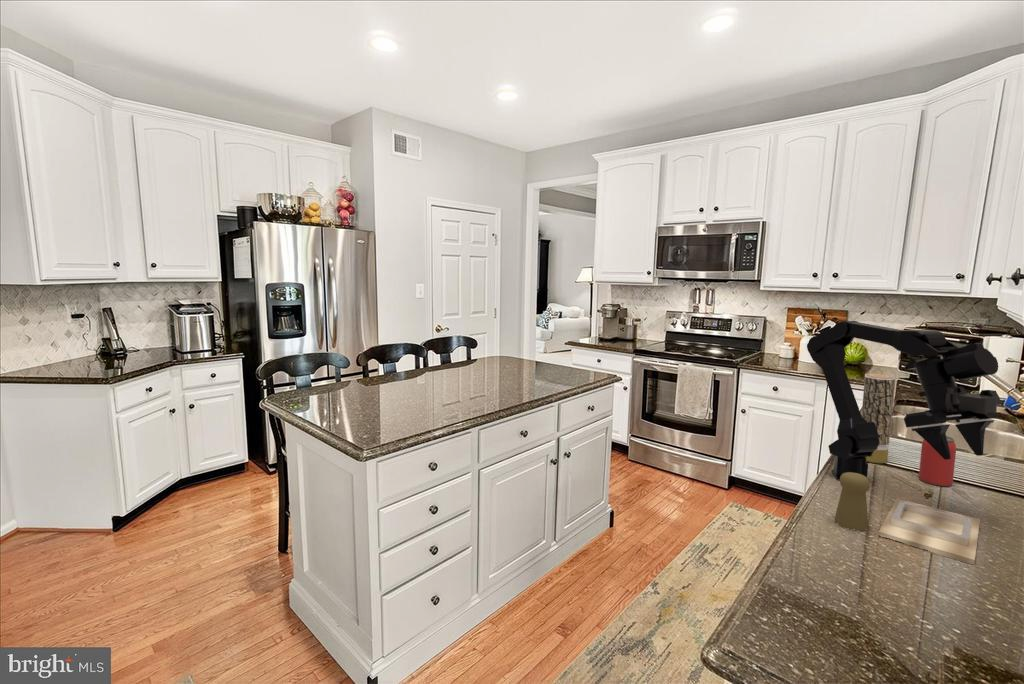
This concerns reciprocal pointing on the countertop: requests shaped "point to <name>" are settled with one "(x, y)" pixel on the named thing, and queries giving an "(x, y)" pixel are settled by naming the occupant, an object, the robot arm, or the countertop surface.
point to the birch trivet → (933, 543)
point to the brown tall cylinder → (879, 411)
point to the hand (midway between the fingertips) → (964, 457)
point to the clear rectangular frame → (931, 531)
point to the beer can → (937, 464)
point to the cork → (853, 502)
